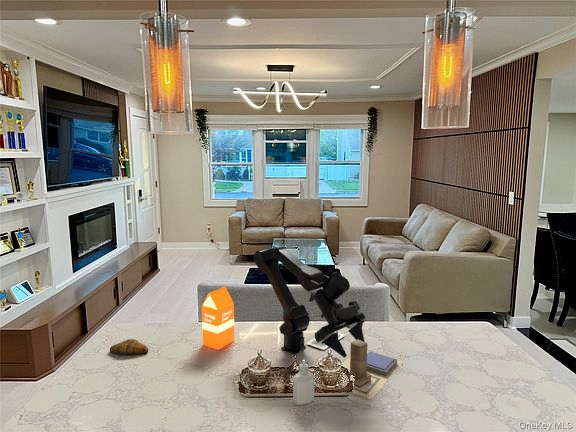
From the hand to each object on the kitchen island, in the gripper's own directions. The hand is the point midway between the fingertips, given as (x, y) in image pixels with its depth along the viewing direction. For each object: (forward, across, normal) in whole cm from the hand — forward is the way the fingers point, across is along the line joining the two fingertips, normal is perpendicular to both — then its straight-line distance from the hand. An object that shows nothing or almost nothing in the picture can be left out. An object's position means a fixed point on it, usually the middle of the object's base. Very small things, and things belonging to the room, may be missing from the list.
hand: (355, 351), depth 120 cm
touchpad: (-10, +13, +24) cm, 29 cm away
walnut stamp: (+7, 0, +5) cm, 9 cm away
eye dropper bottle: (+5, -19, +8) cm, 22 cm away
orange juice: (-28, -17, +42) cm, 53 cm away
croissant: (-38, -44, +52) cm, 78 cm away
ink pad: (+6, +12, +6) cm, 15 cm away
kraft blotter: (+6, +6, +7) cm, 11 cm away
